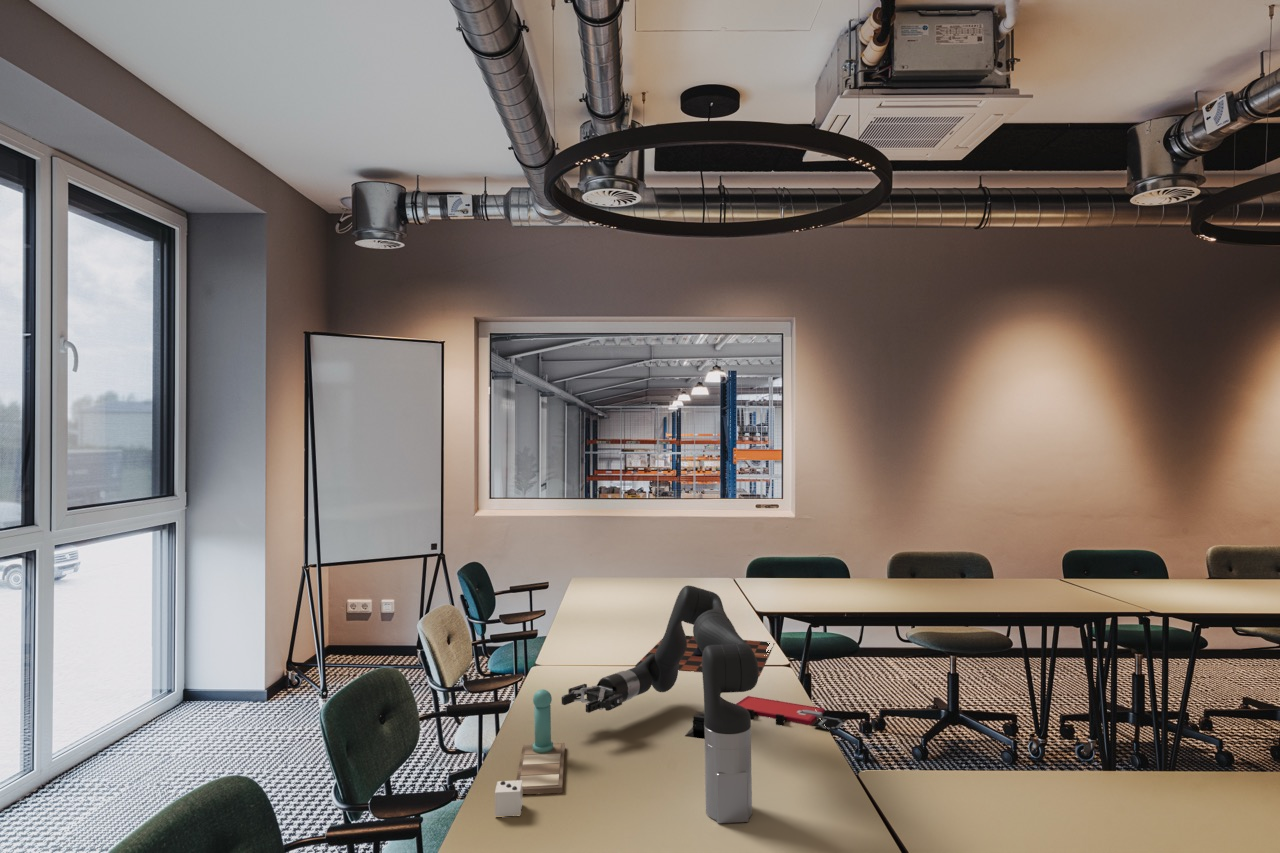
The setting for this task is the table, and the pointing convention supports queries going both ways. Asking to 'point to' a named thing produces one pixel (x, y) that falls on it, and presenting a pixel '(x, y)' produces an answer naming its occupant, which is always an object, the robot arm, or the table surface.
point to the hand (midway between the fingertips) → (574, 704)
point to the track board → (541, 770)
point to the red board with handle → (789, 712)
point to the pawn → (542, 722)
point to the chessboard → (694, 654)
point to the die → (508, 798)
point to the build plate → (697, 726)
